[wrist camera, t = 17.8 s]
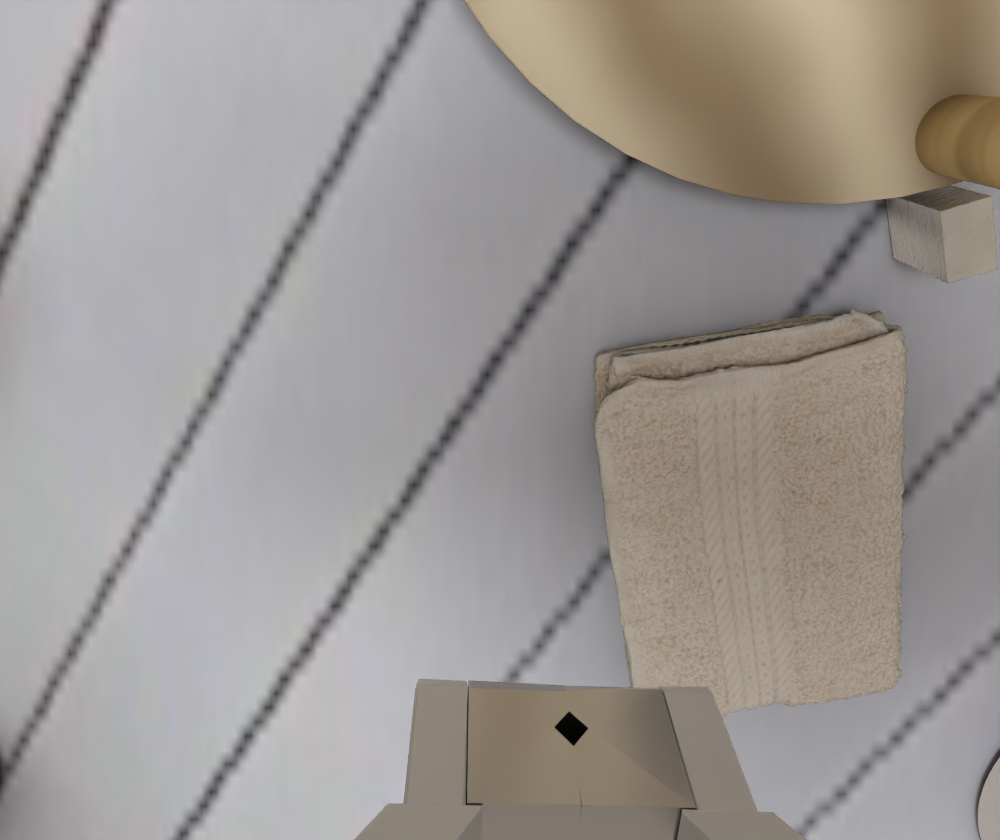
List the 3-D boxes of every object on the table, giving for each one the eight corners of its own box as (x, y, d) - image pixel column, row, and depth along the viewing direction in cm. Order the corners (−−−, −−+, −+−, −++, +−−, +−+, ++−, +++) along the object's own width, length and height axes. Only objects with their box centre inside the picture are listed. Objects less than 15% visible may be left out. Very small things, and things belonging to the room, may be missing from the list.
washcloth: (880, 286, 32) (919, 307, 30) (890, 665, 39) (922, 712, 36) (570, 345, 33) (579, 371, 30) (632, 707, 40) (643, 757, 37)
